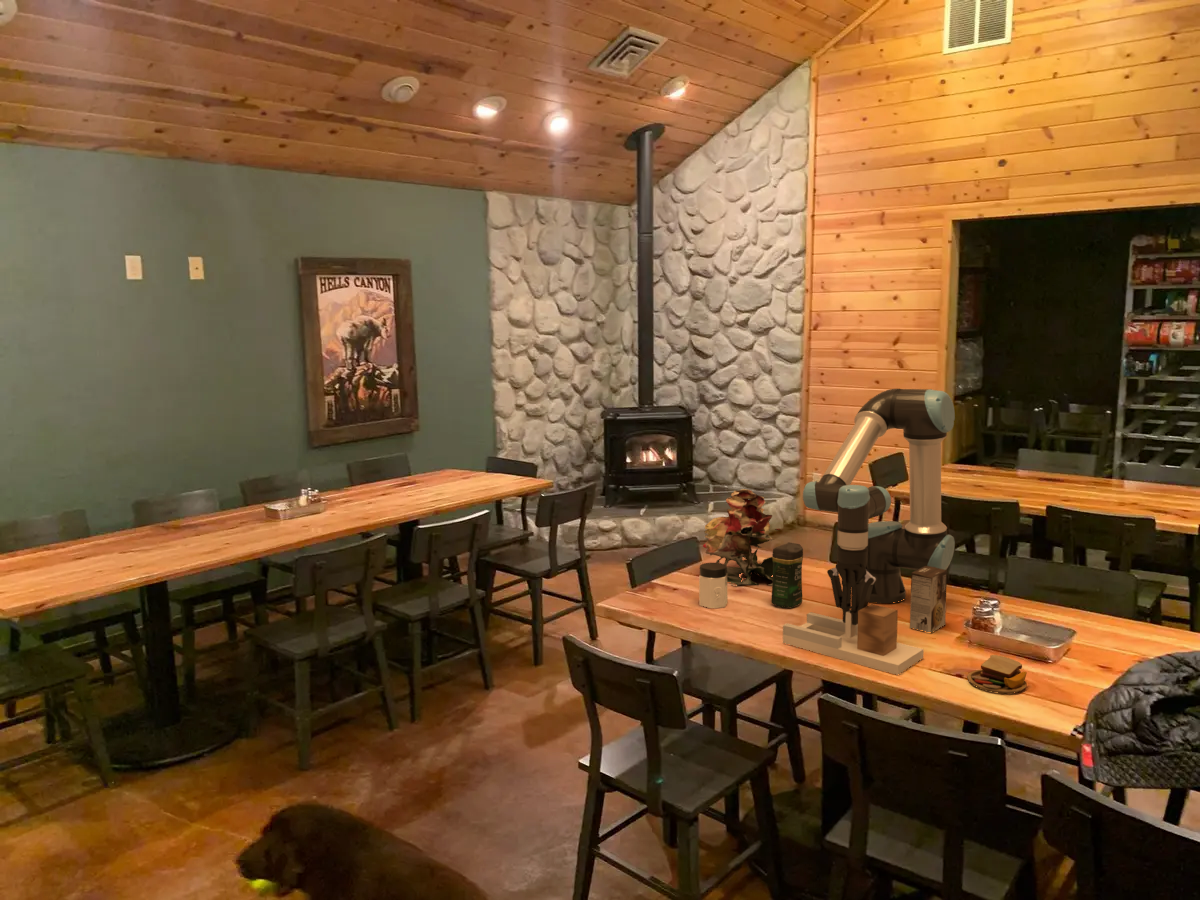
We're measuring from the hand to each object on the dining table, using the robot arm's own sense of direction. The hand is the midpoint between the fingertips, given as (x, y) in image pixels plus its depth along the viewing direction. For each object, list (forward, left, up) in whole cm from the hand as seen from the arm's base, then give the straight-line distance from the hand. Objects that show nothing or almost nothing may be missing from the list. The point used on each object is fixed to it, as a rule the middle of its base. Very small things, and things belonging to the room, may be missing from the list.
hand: (850, 635), depth 223 cm
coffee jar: (+5, -39, -4) cm, 39 cm away
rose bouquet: (+11, -70, -4) cm, 71 cm away
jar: (+27, -42, -4) cm, 50 cm away
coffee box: (-27, -14, -4) cm, 31 cm away
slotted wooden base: (0, 0, -4) cm, 4 cm away
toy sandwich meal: (-26, +24, -5) cm, 35 cm away
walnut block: (-5, +6, -2) cm, 8 cm away
